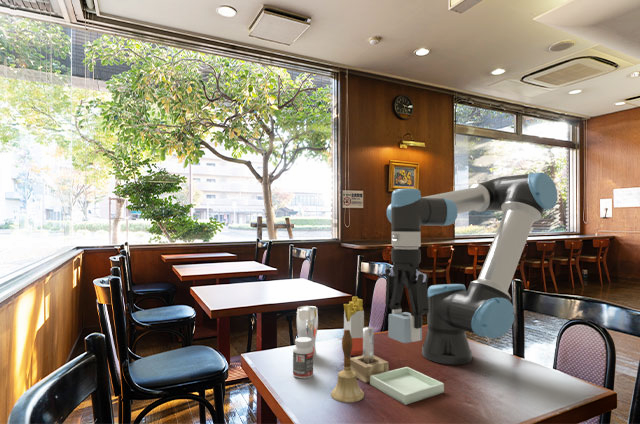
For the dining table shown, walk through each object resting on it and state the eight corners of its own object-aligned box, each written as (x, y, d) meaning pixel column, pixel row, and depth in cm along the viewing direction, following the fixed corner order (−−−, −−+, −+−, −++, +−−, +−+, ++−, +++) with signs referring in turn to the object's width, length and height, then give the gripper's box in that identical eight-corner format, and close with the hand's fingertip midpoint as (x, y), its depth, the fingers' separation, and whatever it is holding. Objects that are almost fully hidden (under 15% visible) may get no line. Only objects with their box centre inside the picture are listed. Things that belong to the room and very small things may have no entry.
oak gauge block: (370, 367, 112) (370, 353, 112) (388, 376, 105) (388, 362, 105) (348, 372, 108) (348, 358, 108) (365, 382, 101) (365, 367, 101)
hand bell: (324, 396, 93) (324, 330, 94) (344, 385, 100) (344, 324, 100) (351, 406, 88) (351, 337, 89) (370, 394, 94) (370, 329, 95)
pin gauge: (369, 371, 109) (369, 326, 109) (375, 375, 106) (375, 328, 107) (360, 373, 107) (360, 327, 108) (367, 377, 105) (367, 330, 105)
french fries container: (350, 358, 119) (350, 301, 120) (342, 347, 130) (342, 295, 130) (364, 358, 120) (364, 300, 120) (355, 347, 131) (355, 294, 131)
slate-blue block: (405, 334, 102) (405, 311, 102) (421, 340, 97) (422, 316, 97) (388, 337, 99) (388, 313, 99) (404, 343, 94) (404, 318, 94)
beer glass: (291, 354, 123) (292, 308, 123) (307, 349, 128) (307, 304, 128) (307, 360, 118) (307, 311, 118) (322, 354, 123) (322, 308, 123)
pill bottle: (310, 380, 103) (310, 343, 103) (290, 378, 104) (290, 341, 104) (315, 372, 108) (315, 337, 109) (295, 370, 110) (296, 335, 110)
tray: (406, 374, 107) (406, 366, 107) (444, 392, 96) (443, 383, 96) (370, 384, 100) (370, 375, 100) (405, 404, 89) (405, 395, 89)
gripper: (371, 246, 105) (371, 330, 105) (422, 250, 89) (422, 350, 88) (392, 245, 109) (392, 326, 108) (444, 249, 93) (444, 345, 92)
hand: (405, 336), depth 98 cm, fingers closed on slate-blue block, 6 cm apart
